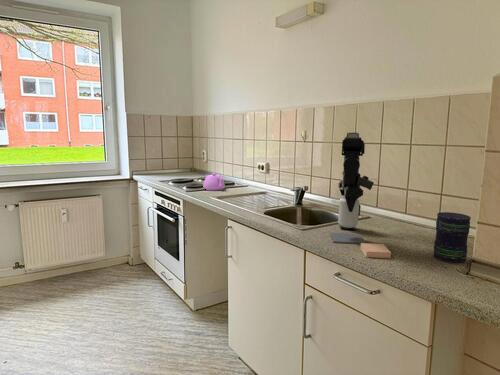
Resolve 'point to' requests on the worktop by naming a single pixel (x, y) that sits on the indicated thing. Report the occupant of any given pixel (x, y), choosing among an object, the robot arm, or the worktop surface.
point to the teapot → (213, 182)
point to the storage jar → (451, 237)
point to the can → (348, 214)
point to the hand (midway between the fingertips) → (348, 209)
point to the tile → (375, 250)
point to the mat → (347, 238)
